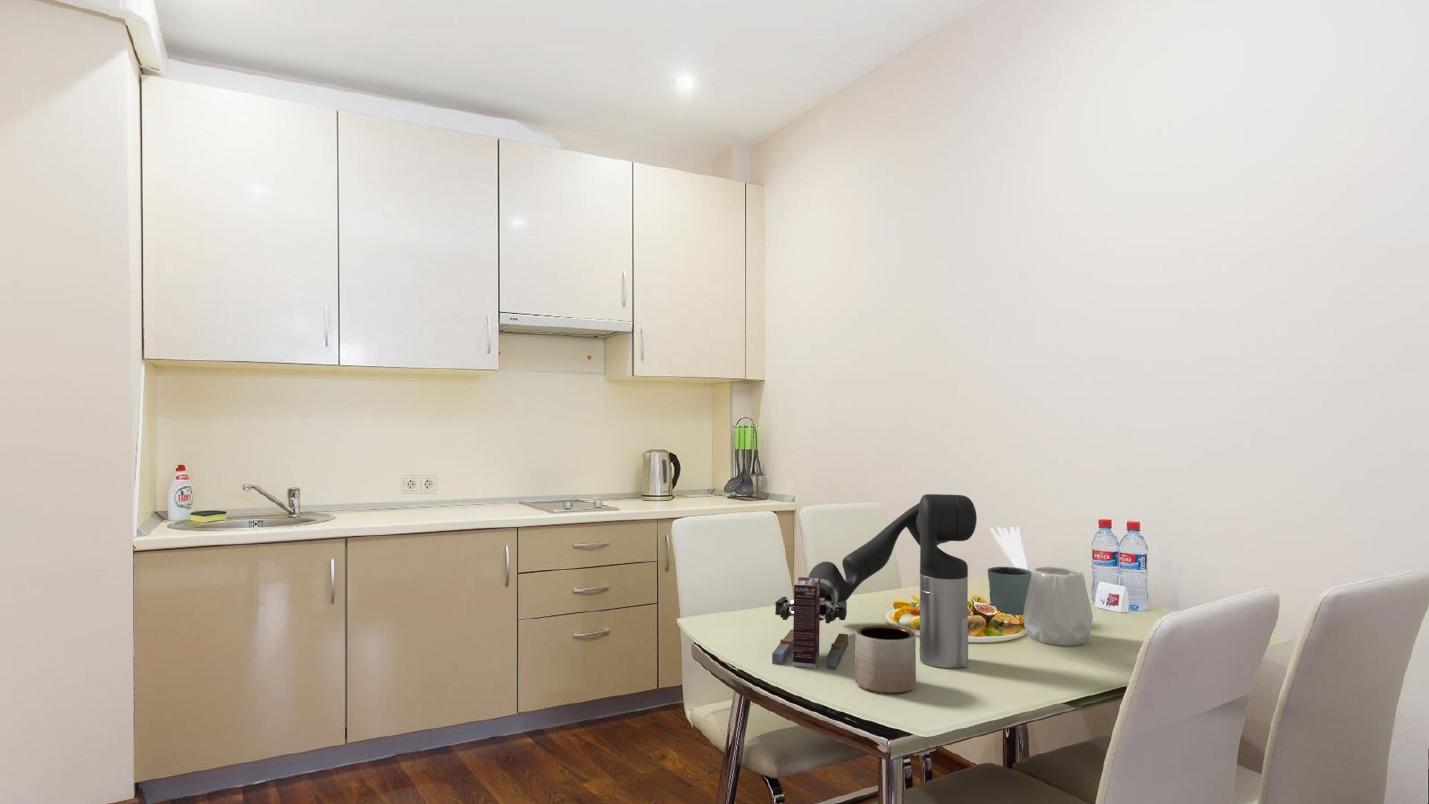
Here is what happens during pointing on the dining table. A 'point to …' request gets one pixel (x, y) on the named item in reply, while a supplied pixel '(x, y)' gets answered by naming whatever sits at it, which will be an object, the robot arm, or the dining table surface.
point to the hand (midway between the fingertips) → (805, 616)
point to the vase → (1057, 607)
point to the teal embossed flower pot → (1008, 589)
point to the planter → (885, 659)
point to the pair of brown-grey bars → (831, 659)
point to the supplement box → (806, 622)
